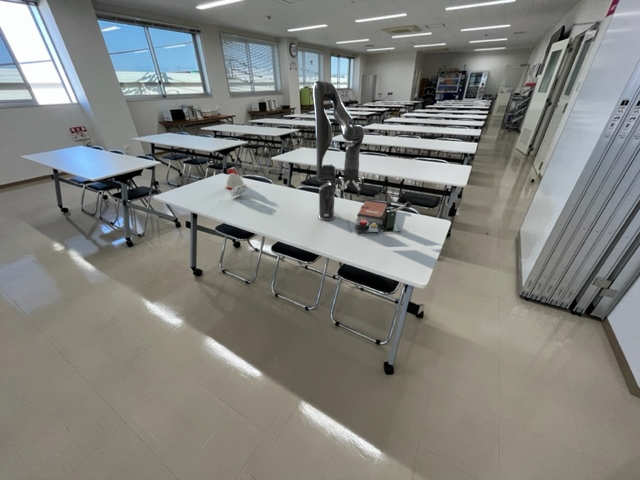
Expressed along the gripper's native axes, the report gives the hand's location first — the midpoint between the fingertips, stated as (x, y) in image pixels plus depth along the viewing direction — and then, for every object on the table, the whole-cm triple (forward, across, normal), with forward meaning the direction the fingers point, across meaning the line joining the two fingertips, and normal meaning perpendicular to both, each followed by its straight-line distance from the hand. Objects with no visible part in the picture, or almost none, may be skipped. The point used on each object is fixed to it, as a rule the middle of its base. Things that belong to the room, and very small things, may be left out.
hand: (350, 196), depth 146 cm
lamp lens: (+16, -14, +4) cm, 22 cm away
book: (+20, -16, -20) cm, 32 cm away
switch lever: (+8, -29, -1) cm, 30 cm away
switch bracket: (+20, -23, 0) cm, 31 cm away
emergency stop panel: (+20, -11, +2) cm, 23 cm away
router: (+19, +93, -34) cm, 101 cm away
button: (+16, -8, +1) cm, 18 cm away
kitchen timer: (+19, +93, -64) cm, 115 cm away
